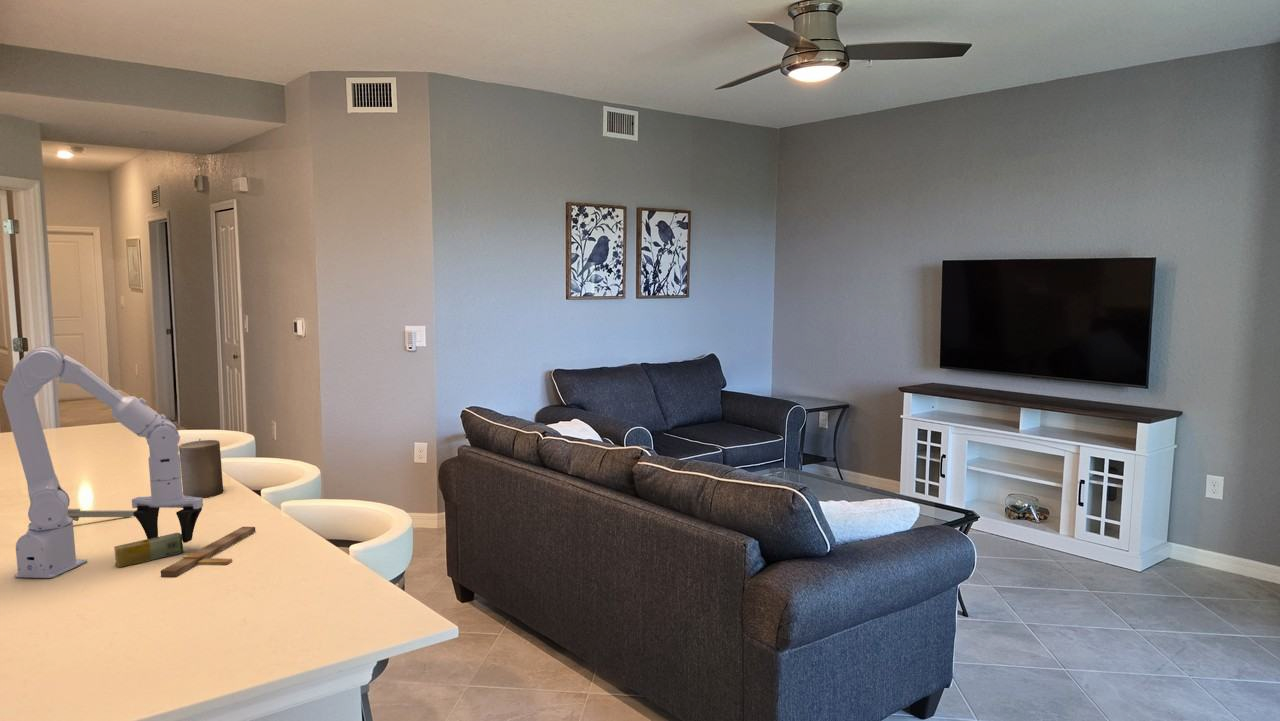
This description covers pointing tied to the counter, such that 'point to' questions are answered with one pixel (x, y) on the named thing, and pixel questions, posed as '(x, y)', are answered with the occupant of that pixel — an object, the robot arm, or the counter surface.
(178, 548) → the medication box
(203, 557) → the brown wooden cross
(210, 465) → the pillar candle
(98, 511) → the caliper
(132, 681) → the counter surface
